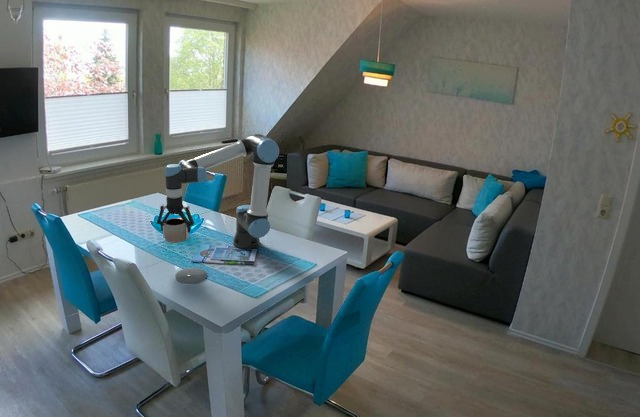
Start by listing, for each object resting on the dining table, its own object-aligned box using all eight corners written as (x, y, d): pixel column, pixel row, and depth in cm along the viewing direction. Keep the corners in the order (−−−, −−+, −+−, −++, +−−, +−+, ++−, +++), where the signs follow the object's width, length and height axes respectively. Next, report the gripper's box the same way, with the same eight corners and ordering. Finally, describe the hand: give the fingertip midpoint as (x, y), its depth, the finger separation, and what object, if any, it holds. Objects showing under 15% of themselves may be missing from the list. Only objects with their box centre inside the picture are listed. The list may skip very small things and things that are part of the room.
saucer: (209, 270, 255) (209, 268, 254) (203, 284, 240) (203, 282, 240) (180, 268, 254) (180, 267, 254) (171, 282, 240) (171, 280, 240)
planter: (178, 233, 260) (178, 216, 257) (191, 239, 254) (191, 221, 250) (160, 239, 252) (159, 221, 249) (173, 245, 246) (172, 227, 242)
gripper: (199, 194, 249) (201, 235, 256) (153, 192, 249) (155, 233, 256) (196, 199, 242) (197, 241, 249) (148, 197, 242) (150, 239, 249)
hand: (176, 237), depth 252 cm, fingers closed on planter, 11 cm apart
